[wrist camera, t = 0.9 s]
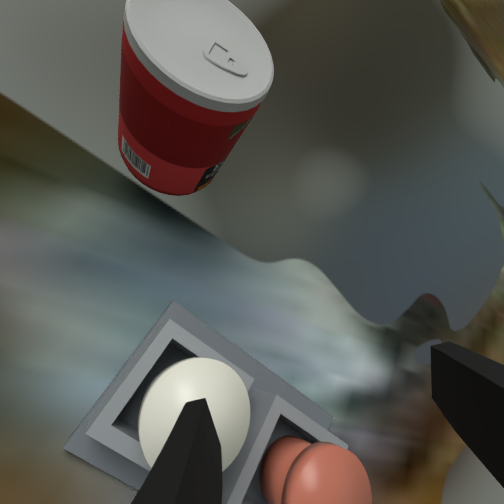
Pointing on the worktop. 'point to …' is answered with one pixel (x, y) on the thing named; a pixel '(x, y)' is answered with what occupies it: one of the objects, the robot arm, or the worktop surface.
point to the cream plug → (189, 389)
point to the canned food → (187, 89)
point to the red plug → (312, 474)
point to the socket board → (164, 355)
